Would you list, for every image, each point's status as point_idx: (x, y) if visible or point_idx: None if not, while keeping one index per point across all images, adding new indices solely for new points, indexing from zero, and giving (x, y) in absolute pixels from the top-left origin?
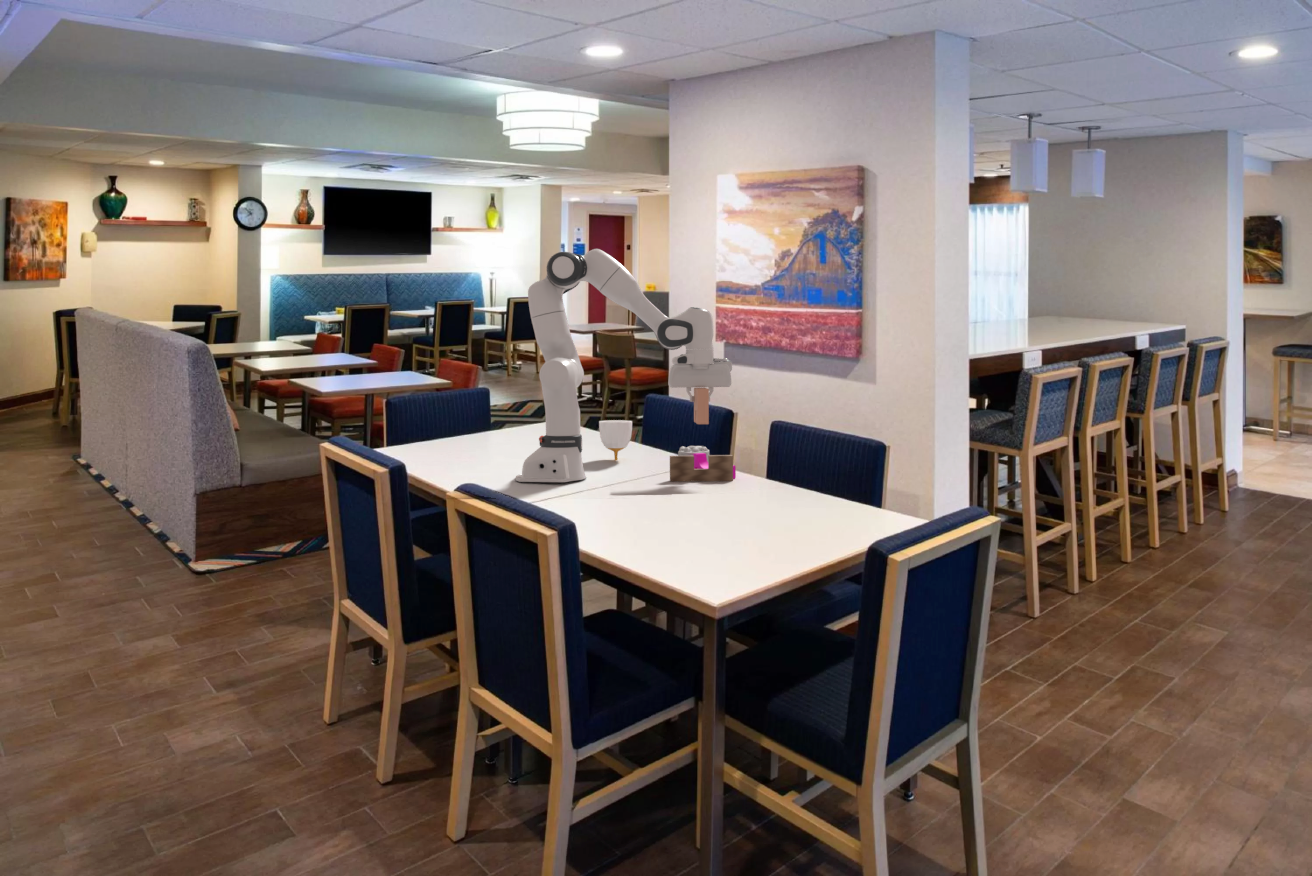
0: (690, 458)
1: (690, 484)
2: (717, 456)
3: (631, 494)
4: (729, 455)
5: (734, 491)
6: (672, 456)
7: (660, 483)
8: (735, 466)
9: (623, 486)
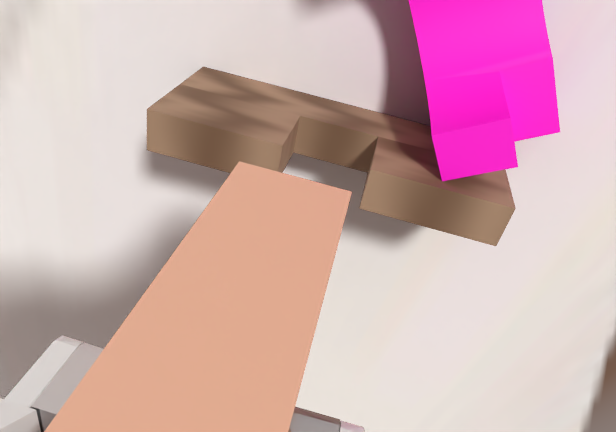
0: None
1: None
2: (406, 220)
3: (63, 317)
4: (486, 225)
5: (359, 383)
6: (158, 151)
7: None
8: (558, 129)
9: (21, 166)
